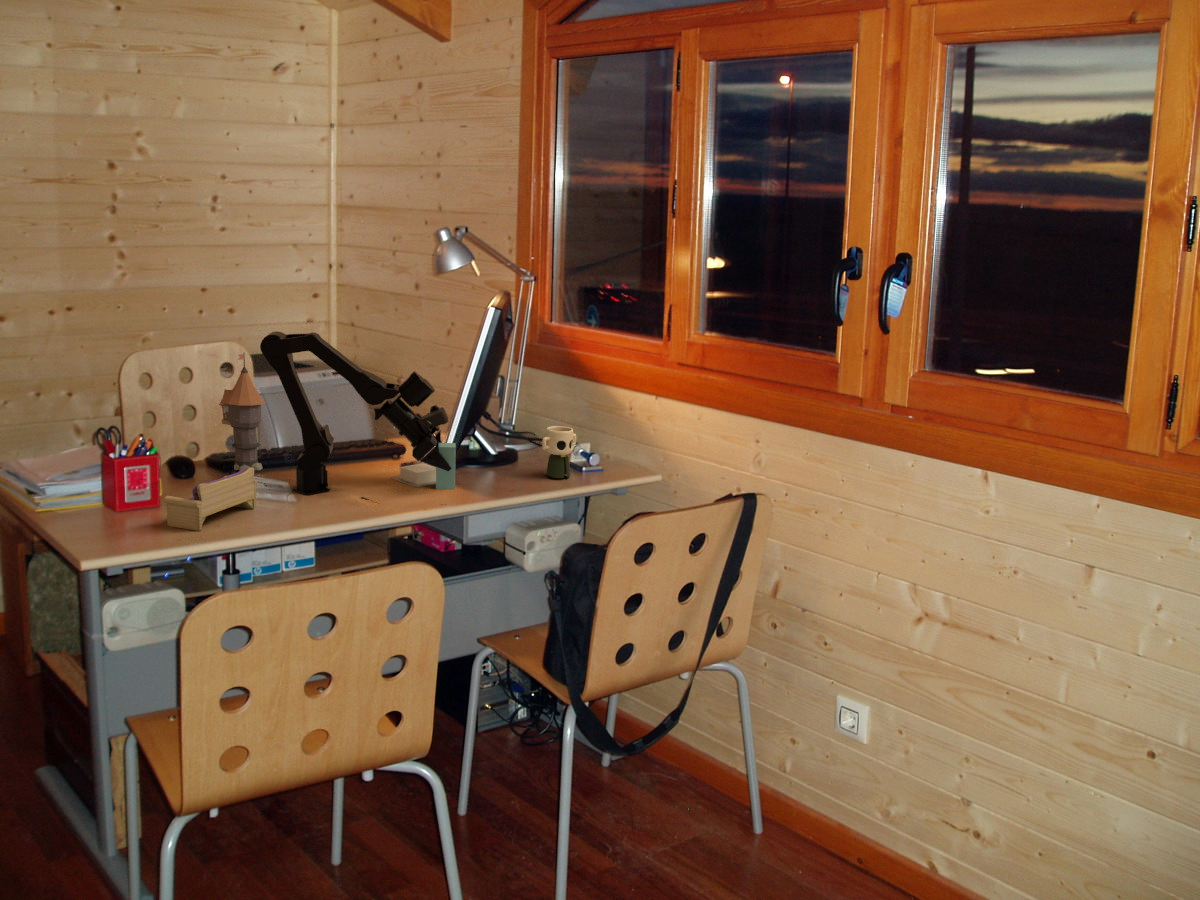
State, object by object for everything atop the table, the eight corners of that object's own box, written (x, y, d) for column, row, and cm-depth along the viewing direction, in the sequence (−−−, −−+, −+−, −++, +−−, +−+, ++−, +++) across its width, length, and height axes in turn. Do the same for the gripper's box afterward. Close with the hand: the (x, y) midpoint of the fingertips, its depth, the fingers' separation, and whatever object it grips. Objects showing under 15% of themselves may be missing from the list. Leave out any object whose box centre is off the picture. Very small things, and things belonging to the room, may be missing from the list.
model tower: (237, 461, 296) (234, 347, 289) (274, 465, 293) (271, 351, 286) (214, 468, 287) (211, 352, 280) (252, 474, 284) (249, 356, 277)
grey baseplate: (415, 492, 274) (415, 486, 274) (391, 484, 281) (391, 478, 280) (448, 486, 281) (448, 480, 281) (424, 478, 288) (424, 472, 287)
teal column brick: (435, 495, 273) (436, 446, 270) (436, 490, 277) (437, 442, 275) (454, 495, 273) (455, 447, 271) (454, 490, 278) (455, 443, 275)
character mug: (549, 483, 289) (551, 433, 286) (533, 476, 294) (534, 428, 291) (582, 477, 296) (584, 429, 293) (566, 471, 301) (567, 424, 298)
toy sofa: (227, 503, 259) (225, 460, 257) (259, 508, 256) (258, 464, 254) (164, 527, 240) (162, 481, 237) (198, 533, 237) (196, 486, 235)
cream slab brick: (417, 484, 276) (417, 472, 275) (400, 478, 280) (400, 467, 280) (440, 480, 281) (440, 468, 280) (423, 474, 285) (423, 463, 285)
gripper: (427, 404, 261) (474, 451, 264) (430, 390, 279) (474, 434, 282) (392, 437, 261) (440, 483, 265) (398, 420, 280) (442, 464, 283)
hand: (450, 465), depth 274 cm, fingers open, 9 cm apart
